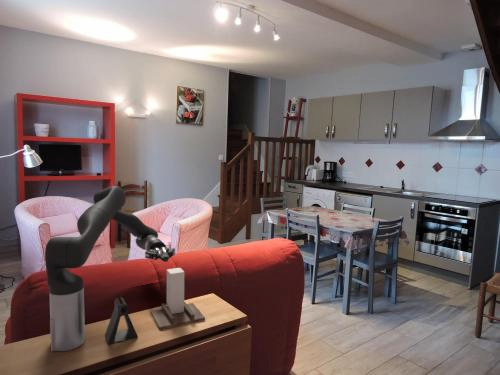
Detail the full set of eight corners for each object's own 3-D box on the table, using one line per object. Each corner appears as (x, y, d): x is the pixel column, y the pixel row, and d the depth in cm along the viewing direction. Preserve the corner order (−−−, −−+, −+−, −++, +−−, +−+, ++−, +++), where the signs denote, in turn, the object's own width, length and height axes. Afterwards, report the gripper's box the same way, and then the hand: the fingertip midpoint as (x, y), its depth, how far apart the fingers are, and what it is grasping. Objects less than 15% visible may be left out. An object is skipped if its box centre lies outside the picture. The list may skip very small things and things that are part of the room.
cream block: (170, 314, 126) (170, 273, 125) (166, 308, 131) (166, 269, 129) (184, 311, 129) (184, 271, 127) (179, 306, 133) (180, 267, 131)
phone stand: (133, 329, 118) (133, 294, 117) (137, 337, 113) (137, 301, 112) (104, 335, 114) (104, 300, 112) (107, 345, 108) (107, 307, 107)
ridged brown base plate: (159, 330, 118) (159, 321, 118) (150, 313, 129) (150, 305, 129) (204, 320, 126) (205, 312, 125) (192, 305, 137) (192, 297, 137)
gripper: (139, 240, 150) (148, 252, 135) (170, 237, 157) (182, 248, 141) (139, 257, 151) (149, 271, 136) (170, 254, 157) (182, 266, 142)
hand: (166, 259), depth 139 cm, fingers closed
